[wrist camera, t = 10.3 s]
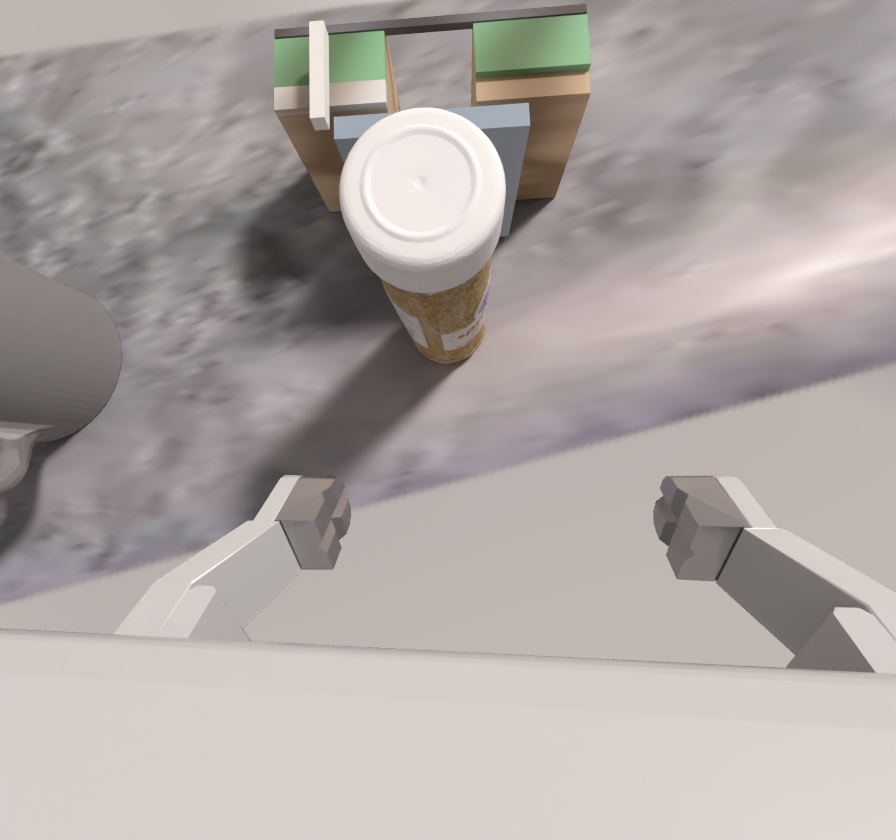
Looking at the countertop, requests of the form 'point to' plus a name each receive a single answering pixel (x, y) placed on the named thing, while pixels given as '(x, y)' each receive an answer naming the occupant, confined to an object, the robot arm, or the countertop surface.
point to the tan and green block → (493, 83)
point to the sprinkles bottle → (428, 222)
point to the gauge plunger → (495, 121)
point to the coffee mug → (49, 364)
